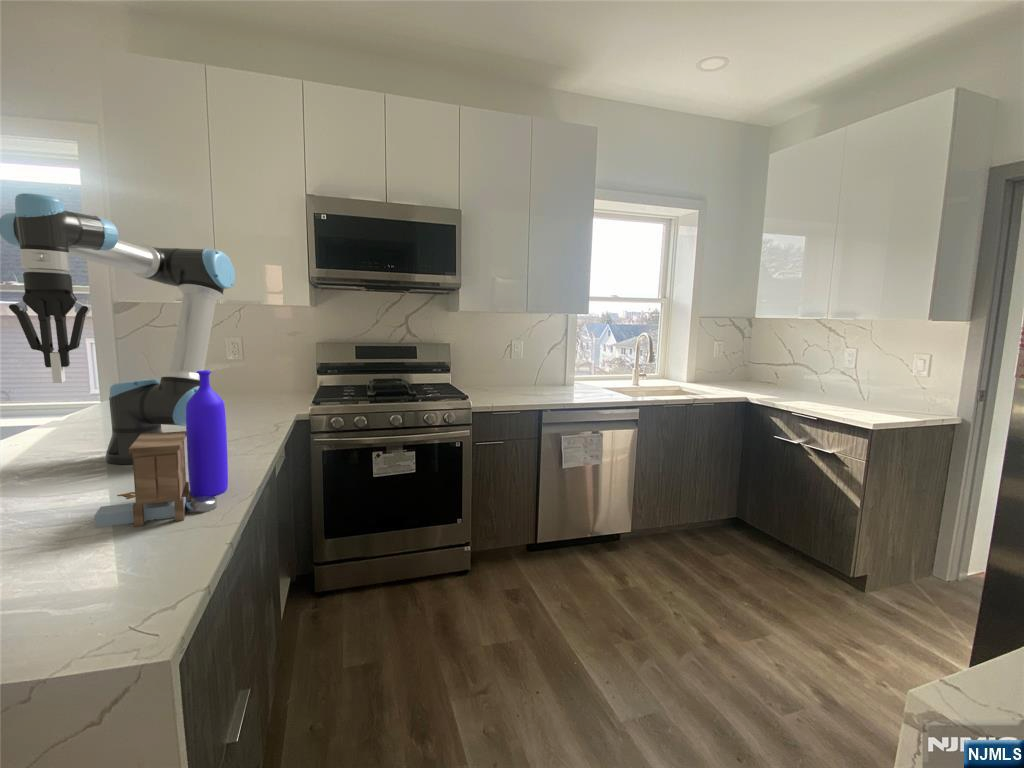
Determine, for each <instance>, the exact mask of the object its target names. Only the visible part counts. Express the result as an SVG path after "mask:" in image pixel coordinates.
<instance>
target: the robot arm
mask: <svg viewBox="0 0 1024 768" xmlns="http://www.w3.org/2000/svg"><path fill="white" fill-rule="evenodd" d="M14 200H15V201H14V211H15V212H7V213H4V214H2V215H1V216H0V236H1V238H2V240H3V239H4V241H5V242H6V243H8V244H10V245H12V246H16V247H19V251H20V252H19V253H20V260H21V267H22V269H24V270H26V271H24V273H22V277H23V286H24V294H23V296H22V300H20V301H19V302H16V303H11V304H9V305H8V309H10V311H11V312H12V313H14V315H15V316H16V318H17V320H18V322H19V325H20V326H21V329H22V331H23V333H24V335H25V338H26V340H27V342H28V344H29V347H30V349H32V350H35V351H39V352H42V354H43V361H44V366H45V368H51V376H52V383H53V384H59V383H60V384H63V383H64V382H66V381H67V380H66V373H65V368H68V367H70V363H71V362H70V351H74V350H77V349H79V347H80V344H81V340H82V339H81V338H82V335H83V331H84V325H85V321H86V316H87V315H88V314H89V312H90V311H91V310H92V309H91V307H90V306H89V305H85V304H83V303H81V302H79V301H78V298H77V297H75V294H74V288H73V279H72V275H71V274H69V273H68V272H71V270H72V269H71V268H72V267H71V260H70V259H71V258H70V257H73V258H77V259H81V260H85V261H89V262H94V263H97V264H102V265H105V266H109V267H113V268H116V269H120V270H125V271H129V272H131V273H132V274H133V275H134V276H136V277H139V278H140V279H141V278H142V279H146V280H150V281H153V282H156V283H160V284H164V285H168V286H171V287H177V289H178V290H179V291H180V292H181V293H182V298H181V304H180V309H179V314H178V320H177V326H176V330H175V331H176V332H175V337H174V341H173V347H172V352H171V358H170V364H169V368H168V371H167V372H166V373H165V374H163V375H162V376H161V377H160V381H159V379H158V378H147V379H137V380H128V381H122V382H121V381H120V382H116V383H113V384H111V386H110V387H109V397H108V399H109V411H110V419H111V421H110V422H111V438H110V440H109V443H108V446H107V449H106V453H105V461H106V462H107V463H109V464H113V465H133V453H132V454H129V448H130V446H131V445H132V444H133V443H134V442H135V440H136V439H137V438H138V437H139V436H140V434H148V433H164V432H163V429H162V425H164V426H165V425H168V426H178V427H179V426H180V427H186V405H187V402H188V401H189V399H190V398H191V397H192V396H193V395H194V393H195V392H196V391H197V390H198V389H199V386H200V376H199V374H198V373H197V371H202V370H205V366H206V361H207V354H208V350H209V345H210V344H209V343H210V338H211V332H212V326H213V321H214V316H215V315H214V314H215V310H216V309H215V308H216V303H217V301H219V300H220V299H222V298H223V296H224V290H228V289H230V288H232V287H233V285H234V283H235V278H236V275H235V268H234V266H233V264H232V260H230V258H229V256H228V255H227V254H225V252H223V251H221V250H220V249H219V250H218V249H211V248H180V247H179V248H177V247H176V248H175V247H172V248H171V247H170V248H169V247H155V246H150V245H147V244H141V245H136V244H133V243H130V242H126V241H124V240H121V239H119V230H118V229H117V226H116V225H115V224H114V223H113V222H111V221H110V220H109V219H107V218H103V217H99V216H98V215H89V214H83V213H79V212H74V211H68V210H66V209H67V208H66V207H65V203H64V201H63V200H62V199H61V198H58V197H56V196H52V195H51V196H50V195H45V194H38V193H26V192H25V193H24V192H23V193H19V194H17V195H16V196H15V198H14ZM28 307H29V308H30V309H31V310H32V311H33V312H34V313H35V314H36V315H37V320H38V324H39V331H40V339H39V336H38V334H37V331H36V329H35V327H34V325H33V322H32V320H31V318H30V315H29V314H28V310H29V309H28ZM73 308H74V312H75V313H76V314H75V317H74V322H73V326H72V332H71V337H70V340H69V339H68V329H67V315H68V313H69V312H70V311H71V310H72V309H73ZM51 316H52V317H53V318H54V323H55V331H56V340H57V348H58V349H57V351H55V348H54V344H53V335H52V334H53V333H52V325H51V323H52V322H51V320H52V317H51ZM40 340H41V341H40ZM69 341H70V342H69Z"/></svg>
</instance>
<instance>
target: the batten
mask: <svg viewBox="0 0 1024 768" xmlns="http://www.w3.org/2000/svg"><path fill="white" fill-rule="evenodd" d="M181 498H184V515H185V513H186V509H185V502H186V497H181ZM134 503H135V502H130V503H121V504H119V503H118V504H111V505H104V506H103V505H102V506H100V507H99V508H98V510H96V512H95V514H94V525H95V526H94V527H95V528H104V527H110V526H117V525H118V526H119V525H125V524H127V525H128V524H132V523H133V524H134V517H133V504H134ZM143 507H144V522H147V520H150V521H155V520H154V519H157V520H163V519H170V518H171V519H172V518H175V506H174V501H169V502H160V503H152V504H143Z"/></svg>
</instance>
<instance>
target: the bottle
mask: <svg viewBox="0 0 1024 768" xmlns="http://www.w3.org/2000/svg"><path fill="white" fill-rule="evenodd" d="M212 371H213V370H207V369H206V370H205V369H204V370H202V371H197V373H198V374H199V376H200V386H199V389H198V390H197V391H196V392H195V393H194V395H193V396H192V397H191V398H190V399H189V401H188V402H187V405H186V426H185V429H186V430H185V431H186V453H187V454H186V455H187V470H188V473H187V474H188V482H189V493H190V494H191V496H193V497H194V498H196V497H202V496H212V497H215V496H218V495H222V494H223V493H226V492H227V490H228V487H229V470H228V469H229V465H228V435H227V417H226V407H225V402H224V400H223V399H222V398H221V396H219V394H218V393H217V392H216V391H214V390H213V389H212V387H211V385H210V374H212Z"/></svg>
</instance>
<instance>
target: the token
mask: <svg viewBox="0 0 1024 768" xmlns="http://www.w3.org/2000/svg"><path fill="white" fill-rule="evenodd" d="M217 500H218V499H217V497H215V496H202V497H193V498H189V500H188V501H186V502H185V509H186V510H185V513H187V514H191V513H193V514H192V515H194V513H195V515H196V513H197V514H203V513H208V512H211V510H212V511H214V510H215V509H217V507H218V501H217Z"/></svg>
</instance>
